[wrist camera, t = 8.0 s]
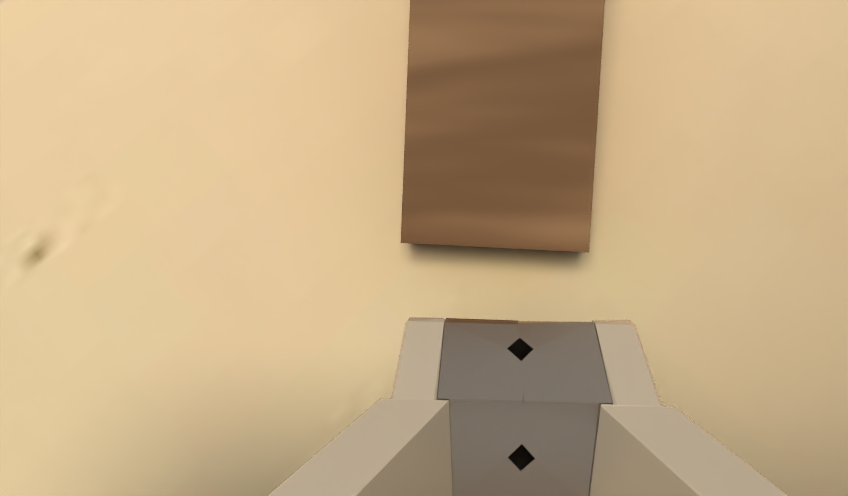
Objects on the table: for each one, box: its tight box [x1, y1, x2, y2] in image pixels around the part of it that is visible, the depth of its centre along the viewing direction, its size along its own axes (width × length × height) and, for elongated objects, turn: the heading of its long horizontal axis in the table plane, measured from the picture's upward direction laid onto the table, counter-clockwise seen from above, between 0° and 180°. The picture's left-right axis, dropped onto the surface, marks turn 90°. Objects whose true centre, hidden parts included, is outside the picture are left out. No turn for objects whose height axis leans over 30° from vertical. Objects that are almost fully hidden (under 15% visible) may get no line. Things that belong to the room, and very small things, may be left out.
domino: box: [401, 0, 605, 252], centre depth 17 cm, size 2×5×10 cm
